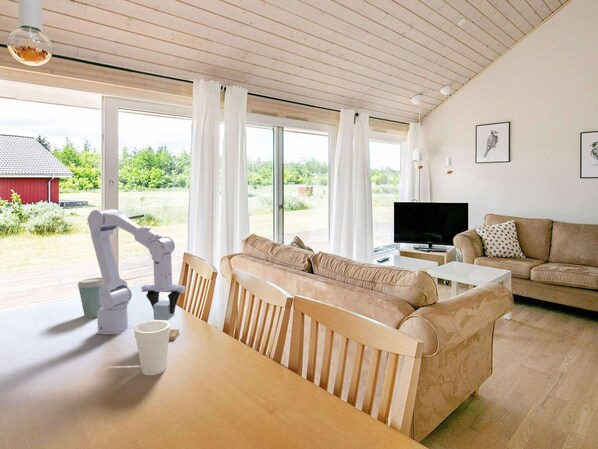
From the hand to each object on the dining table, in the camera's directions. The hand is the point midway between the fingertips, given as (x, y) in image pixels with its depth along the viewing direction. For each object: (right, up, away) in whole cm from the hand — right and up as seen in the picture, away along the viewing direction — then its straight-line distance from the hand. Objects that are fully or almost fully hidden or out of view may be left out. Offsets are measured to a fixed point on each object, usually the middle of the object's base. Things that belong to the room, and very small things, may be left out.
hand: (164, 312), depth 131 cm
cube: (0, -2, 0) cm, 2 cm away
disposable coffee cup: (-37, -7, +24) cm, 45 cm away
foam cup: (+4, -12, -20) cm, 24 cm away
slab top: (+1, -9, +2) cm, 9 cm away
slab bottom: (+1, -10, +2) cm, 10 cm away
